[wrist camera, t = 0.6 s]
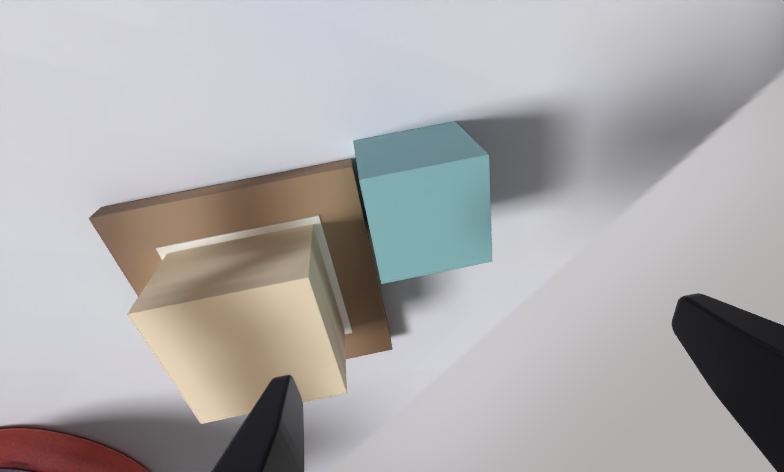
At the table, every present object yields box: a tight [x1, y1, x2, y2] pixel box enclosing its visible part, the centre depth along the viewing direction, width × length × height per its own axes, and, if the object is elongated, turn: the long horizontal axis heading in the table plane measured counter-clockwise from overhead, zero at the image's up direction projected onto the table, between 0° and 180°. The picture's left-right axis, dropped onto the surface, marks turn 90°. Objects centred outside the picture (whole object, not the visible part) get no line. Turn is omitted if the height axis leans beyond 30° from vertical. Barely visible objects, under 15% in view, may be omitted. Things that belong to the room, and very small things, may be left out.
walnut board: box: [89, 159, 392, 359], centre depth 20 cm, size 11×11×1 cm
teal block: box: [353, 121, 492, 284], centre depth 17 cm, size 4×4×4 cm
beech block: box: [127, 224, 347, 424], centre depth 18 cm, size 6×6×4 cm
